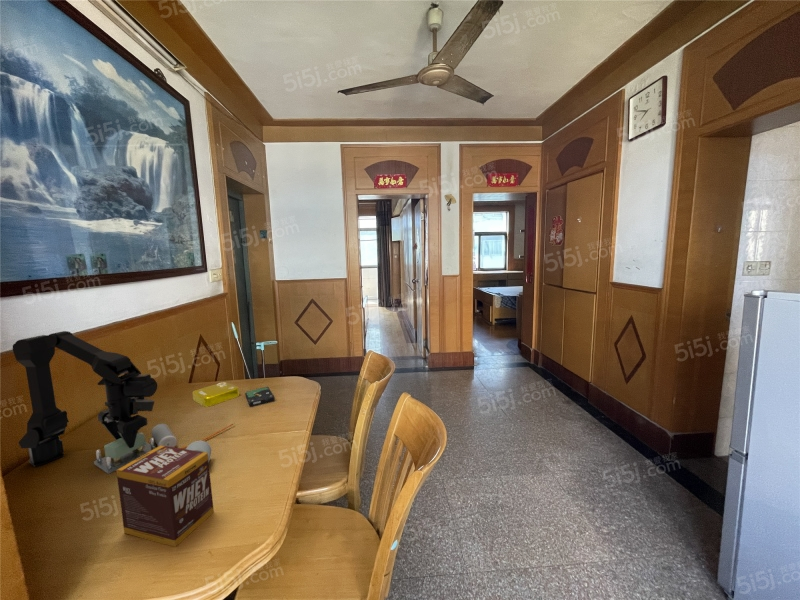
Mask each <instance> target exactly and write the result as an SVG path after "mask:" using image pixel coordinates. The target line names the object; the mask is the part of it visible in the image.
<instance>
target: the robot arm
mask: <svg viewBox="0 0 800 600" xmlns="http://www.w3.org/2000/svg"><path fill="white" fill-rule="evenodd" d="M56 348H57V349H59V350H60V351H62V352H64V353H66V354H69V355H71V356H72V357H74V358H76V359H79V360H80V361H82V362H84V363H85V364H88V365H89V366H90V367H91V369H92V371H93V373H95V374H97V375H98V376H99V377H100V378H102V379H101V380H99V381H98V382H96V383H97V386H104V388H105V393H106V396H105V397H106V401H105V402H104V406H106V407H107V409H104V410H101V411H99V413H97V421H98V422H100V423H101V425H102V426H104V428H105V429H106V430H107V431H108V432H109V434H110V435H111V436H112V437H113V438H114V440H118V439H120V438H122V439H123V440H124V442H125V443H126V444H127V446H128V447H129V448H132V447H134V444H135V440H136V436H137V433H139V430H141V429H142V428H144V427H145V426H148V418H147V417H144V416H142V415H141V414H139V412H153V410H154V405H155V400H152V399H150V397H152V396H154V395H155V394H156V392H157V389H158V382H157V381H156V379H155V378H153V377H152V376H151V374H146V373H145V374H142V372H141V371H140V370H139V368H137V366H136V365H135V364H134V363H133V362H132V360H131V359H130V357H128V356H127V355H124V354H121V353H119V352H118V353H117V352H111V351H105V350H103V349H101V348H98V347H96V346H94V345H93V344H91V343H90V342H87V341H85V340H83V339H81V338H79V337H77V336H75V335H73V333H72V332H71V331H66V330H62V331H57V332H53V333H50V334H48V335H47V334H46V335H45V334H42V335H37V336H36V335H35V336H33V337H32V336H31V337H28V338H26V337H25V338H22V339H18V340H16V342H15V343H13V344H12V351H13V354H14V355H13V356H14V357H15V360H16V361H17V362H18V363H19V364H20V365H21V366H23V367H24V368H25V372H26V379H27V385H28V391H29V396H30V403H31V409H32V413H31V416H30V417H29V419H28V420H27V422H26V433H24V435H23V436H22V437H21V439H20V440H19V441H18V445H19V446H20V448H21V449H28V453H29V460H28V462H29V463H30V464H31V465H32V466H33V467H35V468H36V467H39V466H42V465H44V464H47V463H49V462H52V461H55V460H57V459H58V460H59V459H60V458H63V457H65V454H64V452H65V451H64V445H63V444H64V443H63V440H61V439H60V436H62V435H64V434H66V433H65V432H66V428H67V427H68V423H69V422H70V421H69V418H68V411H66V410H61V409H60V408H58V407H57V404H56V397H55V391H54V385H53V384H54V383H53V377H52V373H51V372H52V371H51V365H50V364H51V361H52V359H53V357H54V356H55V354H56Z"/></svg>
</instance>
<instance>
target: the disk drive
mask: <svg viewBox="0 0 800 600" xmlns="http://www.w3.org/2000/svg"><path fill="white" fill-rule="evenodd" d="M244 393H245V398H246V400H247V403H248V406H249V408H252V407H257V406H261V405H266V404H270V403H273V402H274V403H275V399H276V398H275V395H274V394H273V392H272V391H271V389H270V388H269V386H264V387H260V388H256V389H252V390H246V391H245V392H244Z"/></svg>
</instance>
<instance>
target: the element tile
mask: <svg viewBox="0 0 800 600" xmlns="http://www.w3.org/2000/svg"><path fill="white" fill-rule="evenodd" d="M239 396H240V390H239V386H237V385H234V384H232V383H229V382H226V381H222V382H219V383H215V384H212V385H209V386H205V387H202V388H199V389H195V390H193V391H192V400H193V401H194V402H195V403H198V404H199V405H201V406H203V407H205V408H208V407H213V406H215V405H218V404H220V403H221V404H222V403H224V402H226V401H231V400H233V399H235V398H238V397H239Z"/></svg>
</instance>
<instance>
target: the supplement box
mask: <svg viewBox="0 0 800 600" xmlns="http://www.w3.org/2000/svg"><path fill="white" fill-rule="evenodd" d="M181 448H182V447H176V446H175V447H168V446H162V445H161V446H159V447H158V446H157V448H155V449H153V450H152V451H150V452H148V453H146V454H144V455H143V456H141V457H139V458H137V459H135V460H134V461H132V462H130V463H128V464H126V465H125V466H123V467H121V468H119V469H118V470H116V471H115V472H116V478H117V486H118V493H119V500H120V501H119V502H120V509H121V516H122V518H121V519H122V527H123V532H124V534H127V535H130V536H133V537H134V536H135V537H138V538H141V539H145V540H149V541H153V542H156V543H159V544H163V545H167V546H170V547H173V548H176V547H177V546H178V545H179V544H181V542H182V541H184V540H185V539H186V538H188V537H189V535H190V534H191V533H193V532H194V531H195V529H197V528H198V527H199V526H200V525H201V524H203V522H205V521H206V520H207V519H208V518H209V517H210V516H211V515H212V514H214V512H215V509H214V503H213V502H214V501H213V492H212V482H211V473H210V472H211V471H210V464H209V463H210V461H209V462H208V453H206V452H199V451H193V450H187V449H181Z"/></svg>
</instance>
